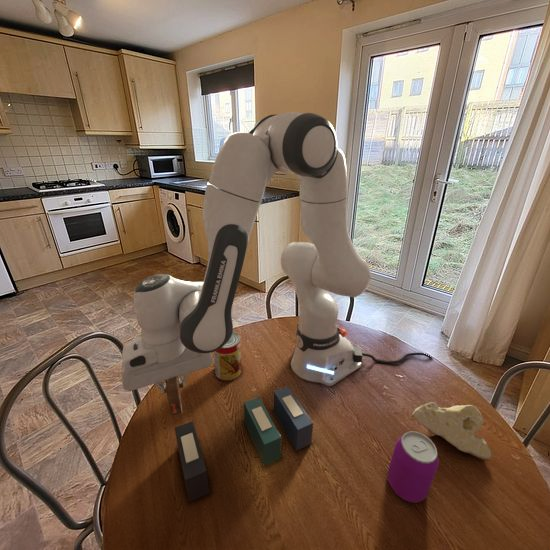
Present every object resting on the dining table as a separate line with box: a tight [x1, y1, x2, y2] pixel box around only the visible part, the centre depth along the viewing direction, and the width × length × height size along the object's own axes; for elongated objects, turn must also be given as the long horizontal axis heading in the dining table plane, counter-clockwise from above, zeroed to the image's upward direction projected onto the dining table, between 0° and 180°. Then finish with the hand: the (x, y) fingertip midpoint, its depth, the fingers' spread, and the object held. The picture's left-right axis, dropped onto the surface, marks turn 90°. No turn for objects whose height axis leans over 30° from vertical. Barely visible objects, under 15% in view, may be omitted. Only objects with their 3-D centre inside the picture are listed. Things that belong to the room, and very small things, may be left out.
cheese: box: [411, 400, 492, 460], centre depth 69 cm, size 15×7×15 cm
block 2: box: [243, 396, 282, 467], centre depth 67 cm, size 4×12×7 cm, turn 26°
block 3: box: [272, 385, 314, 451], centre depth 71 cm, size 4×12×7 cm, turn 26°
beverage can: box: [387, 430, 440, 504], centre depth 58 cm, size 8×8×12 cm
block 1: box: [174, 420, 210, 503], centre depth 61 cm, size 4×12×7 cm, turn 26°
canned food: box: [213, 331, 242, 381], centre depth 87 cm, size 8×8×12 cm
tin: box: [164, 376, 183, 416], centre depth 72 cm, size 15×3×8 cm, turn 21°
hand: (173, 388), depth 72 cm, fingers closed on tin, 2 cm apart
